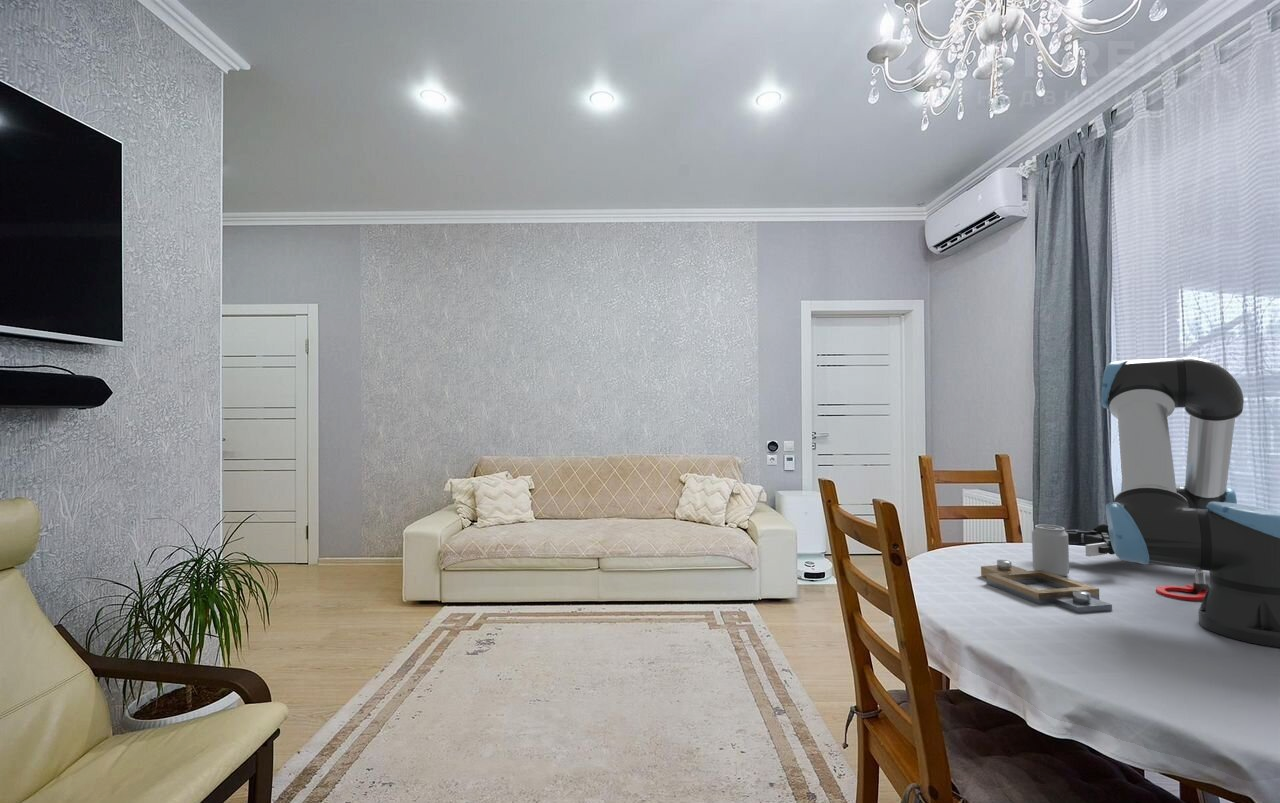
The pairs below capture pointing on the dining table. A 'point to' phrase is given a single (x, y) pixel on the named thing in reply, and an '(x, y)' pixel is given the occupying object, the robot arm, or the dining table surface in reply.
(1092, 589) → the chain end upper
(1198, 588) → the tow hook
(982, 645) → the dining table surface
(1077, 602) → the chain end lower
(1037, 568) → the can
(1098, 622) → the dining table surface
